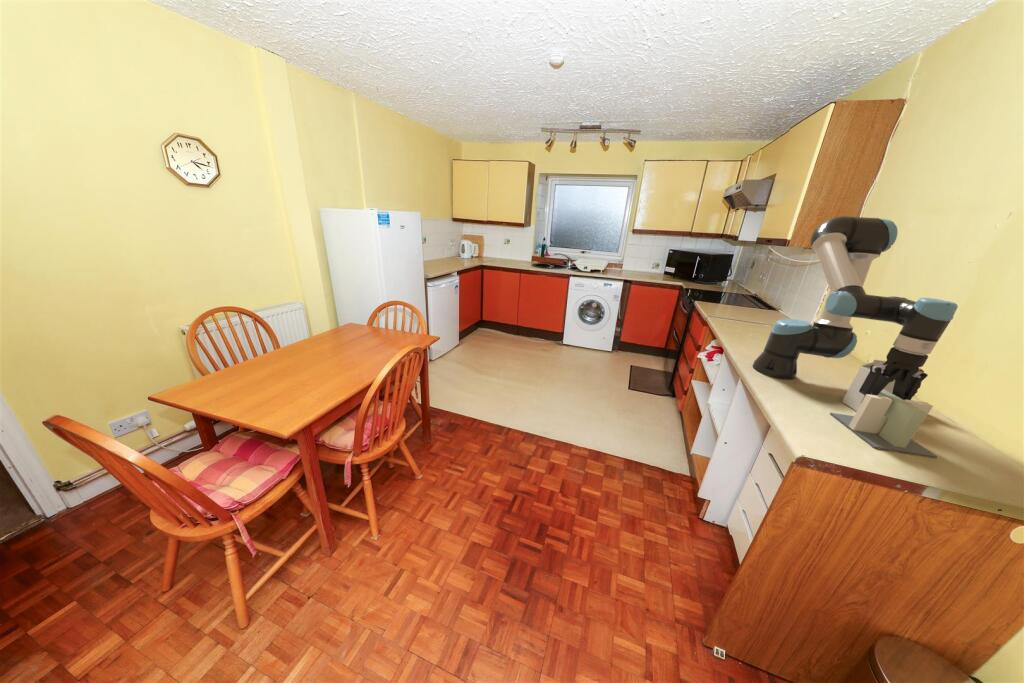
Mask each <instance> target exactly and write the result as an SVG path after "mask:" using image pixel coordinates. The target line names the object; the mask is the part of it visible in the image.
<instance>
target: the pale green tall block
mask: <svg viewBox="0 0 1024 683" xmlns="http://www.w3.org/2000/svg"><path fill="white" fill-rule="evenodd" d="M871 394H872V393H871ZM877 396H884V397H888V398H890V399H892V400H893V401H892V403H891V405H890V406H889V408H888V410H887V411H886V413H885V415H884V416H885V417H886V418H888V421H887V422H886V424H885V426H884V427H883V429H882V431H881V432H880V434H879V436H881V437H882V438H883V439H885V440H886V441H888V442H889V443H890V444H892V445H893V446H897V447H903V448H906V446H907V445H908V443H909V442H910V440H911V438H912V437H913V438H914V436H915V435H916V433H917V432H918V430H919V429H918V428H920V427H921V425H922V424H923V423H924V421H925V419H926V418H927V416H928V415H927V414H929V413H926V412H924V411H922V410H921V409H919V408H917V407H915V406H913V405H912V404H910V403H908V402H906V401H904V400H903V399H901V398H899V397H897V396H895V395H894V394H892V393H890V392H888V391H887V390H885V389H883V390H882V391H881V392H880V393H879V394H878V395H877ZM925 417H926V418H925ZM923 420H924V421H923ZM921 423H922V424H921ZM919 426H920V427H919ZM917 429H918V430H917ZM916 431H917V432H916ZM915 432H916V433H915ZM914 434H915V435H914ZM913 435H914V436H913ZM913 438H912V439H913Z"/></svg>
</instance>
